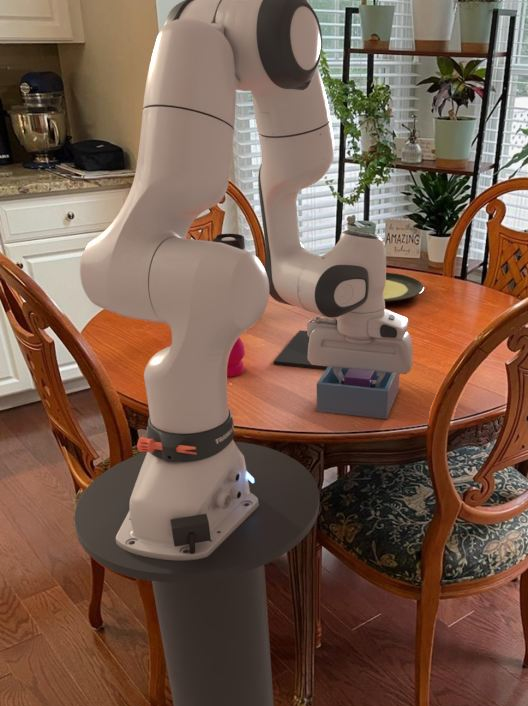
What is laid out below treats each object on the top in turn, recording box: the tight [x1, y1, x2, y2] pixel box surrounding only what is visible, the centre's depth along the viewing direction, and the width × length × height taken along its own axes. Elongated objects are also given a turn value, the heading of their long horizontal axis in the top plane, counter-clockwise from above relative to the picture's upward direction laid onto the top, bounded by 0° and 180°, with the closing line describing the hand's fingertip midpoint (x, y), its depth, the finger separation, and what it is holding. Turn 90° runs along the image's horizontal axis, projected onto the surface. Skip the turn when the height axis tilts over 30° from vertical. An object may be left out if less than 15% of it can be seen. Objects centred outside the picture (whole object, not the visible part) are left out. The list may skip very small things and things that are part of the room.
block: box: [344, 369, 375, 388], centre depth 139 cm, size 5×5×5 cm
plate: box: [383, 272, 425, 304], centre depth 199 cm, size 28×28×2 cm
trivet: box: [273, 330, 328, 371], centre depth 162 cm, size 20×20×1 cm
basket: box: [316, 366, 401, 420], centre depth 139 cm, size 14×14×6 cm
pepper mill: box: [227, 336, 246, 378], centre depth 147 cm, size 7×7×20 cm
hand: (359, 388), depth 140 cm, fingers closed on block, 5 cm apart
